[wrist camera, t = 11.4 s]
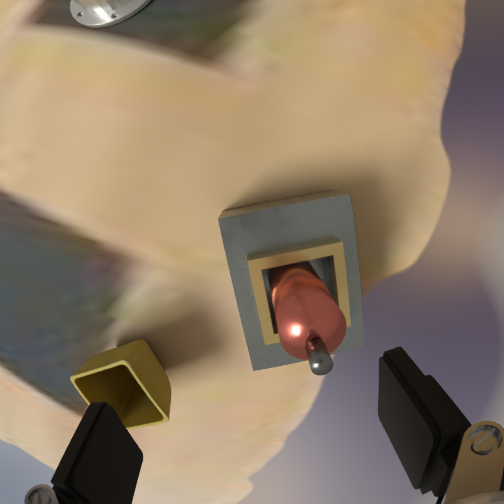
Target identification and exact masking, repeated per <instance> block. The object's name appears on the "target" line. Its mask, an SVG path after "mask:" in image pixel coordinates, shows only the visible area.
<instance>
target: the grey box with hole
mask: <svg viewBox="0 0 504 504" xmlns="http://www.w3.org/2000/svg"><path fill="white" fill-rule="evenodd" d="M218 221H219V226H220V230H221V235H222V239H223V244H224V248H225V253H226V257H227V262H228V266H229V270H230V275H231V279H232V283H233V288H234V292H235V296H236V301H237V305H238V309H239V313H240V317H241V322H242V326H243V330H244V334H245V338H246V342H247V346H248V351H249V355H250V359H251V363H252V367H253V371H256V370H261V369H267V368H272V367H277V366H282V365H287V364H292V363H297V362H302V361H306V360H302V359H298V358H295V357H293V356H291V355H290V354H288V353H287V352H286V351H285V350H284V348H283V347H282V345H281V342H280V339H279V333H278V328H277V323H276V317H275V312H274V307H273V302H272V296H271V291H270V286H269V281H268V275H267V268H272V267H277V266H282V265H287V264H292V263H297V262H302V261H307V260H308V261H309V262H310V264H311V265H312V267H313V268H314V270H315V271H316V273H317V274H318V276H319V277H320V279H321V280H322V282H323V283H324V285H325V286H326V288H327V289H328V291H329V292H330V294H331V295H332V297H333V299H334V300H335V302H336V303H337V305H338V306H339V308H340V309H341V311H342V313H343V314H344V316H345V319H346V324H347V327H346V334H345V337H344V339H343V341H342V343H341V344H340V345H339V347H338V348H337V349H336V350H334V351H333V352H332V353H330V355H332V354H336V353H340V352H344V351H347V350H351V349H355V348H358V347H362V346H364V329H363V310H362V295H361V282H360V270H359V260H358V250H357V241H356V233H355V225H354V217H353V210H352V203H351V196H350V194H348V193H343V192H338V191H333V190H331V191H325V192H320V193H314V194H308V195H303V196H297V197H292V198H286V199H281V200H276V201H271V202H265V203H260V204H255V205H250V206H245V207H240V208H235V209H231V210H226V211H222V213H221V214H220V216H219V218H218Z"/></svg>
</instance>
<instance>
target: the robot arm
mask: <svg viewBox="0 0 504 504" xmlns="http://www.w3.org/2000/svg"><path fill="white" fill-rule="evenodd" d="M150 1H151V0H71V3H70V9H71V13H72V16H73V17H74V18H75V19H76V20H77V21H78V22H79V23H81V24H82V25H85V26H87V27H93V28H97V27H106V26H111V25H114V24H117V23H119V22H122V21H124V20H126V19H128V18H130V17H131V16H133V15H134V14H136V13H138V12H139V11H140V10H141V9H143V8H144V7H145V6H146V5H147V4H148V3H149V2H150ZM378 415H379V419H380V421H381V423H382V425H383V427H384V429H385V431H386V433H387V435H388V436H389V439H390V441H391V443H392V445H393V447H394V449H395V451H396V453H397V455H398V457H399V459H400V461H401V463H402V465H403V467H404V469H405V471H406V473H407V475H408V477H409V479H410V481H411V483H412V485H413V487H414V488H415V489H419V488H420V490H421V492H422V494H425V493H427V492H429V491H431V490H432V492H433V494H434V496H436V497H437V499H436V501H435V504H504V428H503V427H502V426H501V425H500V424H498V423H496V422H492V421H481V422H478V423H475V424H473V425H471V424H470V422H469V421H468V420H467V418H466V417H465V416H464V415H463V413H462V412H461V411H460V410H459V408H458V407H457V406H456V404H455V403H454V402H453V401H452V399H451V398H450V397H449V396H448V394H446V392H445V391H444V390H443V389H442V387H441V386H440V385H439V384H438V382H437V381H436V380H435V379H434V378H433V377H432V376H431V375H426V376H425V375H424V374H423V373H422V372H421V371H420V369H419V368H418V367H417V365H416V364H415V363H414V362H413V360H412V359H411V358H410V357H409V356H408V355H407V353H406V352H405V351H404V350H403V348H402V347H396V348H394V349H391V350H388V351H385V352H384V354H383V357H380V359H379V397H378ZM142 462H143V453H142V451H141V449H140V448H139V447H138V445H137V444H136V442H135V441H134V439H133V438H132V436H131V435H130V433H129V432H128V430H127V429H126V427H125V426H124V424H123V423H122V421H121V419H120V418H119V416H118V415H117V413H116V411H115V410H114V408H113V407H112V406H110V405H109V404H108V403H107V402H92V403H91V404H90V405H89V407H88V409H87V410H86V412H85V414H84V416H83V418H82V420H81V422H80V424H79V426H78V427H77V429H76V431H75V433H74V435H73V437H72V439H71V441H70V443H69V445H68V447H67V449H66V451H65V453H64V455H63V457H62V459H61V461H60V463H59V465H58V467H57V469H56V471H55V473H54V476H53V478H52V480H51V483H52V484H53V485H54V486H53V488H51V487H50V486H48V485H45V484H40V485H36V486H34V487H32V488H31V489H30V490H29V491H28V492H27V494H26V496H25V500H24V502H25V504H132V500H133V496H134V492H135V488H136V484H137V480H138V477H139V473H140V469H141V465H142Z"/></svg>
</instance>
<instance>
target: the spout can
mask: <svg viewBox="0 0 504 504" xmlns="http://www.w3.org/2000/svg"><path fill="white" fill-rule="evenodd" d="M267 275H268V281H269V286H270V291H271V296H272V302H273V307H274V312H275V317H276V323H277V328H278V333H279V339H280V342H281V345H282V347H283V348H284V350H285V351H286V352H287V353H288V354H290V355H291V356H293V357H295V358H298V359H302V360H309V364H310V367H311V370H312V372H313V373H314V374H316V375H325V374H327V373H329V372H330V371H331V370H332V368H333V361H332V359H331V357H330V353H332V352H333V351H334V350H336V349H337V348H338V347H339V345H340V344H341V343H342V341H343V339H344V337H345V334H346V327H347V324H346V319H345V316H344V314H343V313H342V311H341V309H340V308H339V306H338V305H337V303H336V302H335V300H334V299H333V297H332V295H331V294H330V292H329V291H328V289H327V288H326V286H325V285H324V283H323V282H322V280H321V279H320V277H319V276H318V274H317V273H316V271H315V270H314V268H313V267H312V265H311V264H310V262H309V261H308V260H307V261H302V262H297V263H292V264H287V265H282V266H277V267H272V268H267Z"/></svg>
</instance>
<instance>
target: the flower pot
mask: <svg viewBox="0 0 504 504" xmlns="http://www.w3.org/2000/svg"><path fill="white" fill-rule="evenodd" d="M70 379H71V381H72V383H73V384H74V386H75V387H76V389H77V390H78V392H79V393H80V394H81V395H82V397H83V398H84V399H85V401H86V402H87V403H88V405H90V404H91V403H92V402H107V403H108V404H109V405H110V406H112V407H113V408H114V410H115V411H116V413H117V415H118V416H119V418H120V419H121V421H122V423H123V424H124V426H125V427H126V429H127V430H130V429H135V428H140V427H145V426H151V425H156V424H160V423H164V422H167V421H168V420H169V413H170V403H171V386H170V382H169V379H168V377H167V375H166V373H165V371H164V369H163V367H162V366H161V364H160V363H159V361H158V359H157V358H156V356H155V355H154V353H153V352H152V350H151V348H150V347H149V345H148V343H147V342H146V341H145V340H144V339H138V340H136V341H133V342H130V343H128V344H125V345H122V346H119V347H117V348H114V349H111V350H108V351H105V352H102V353H100V354H98V355H96V356H94V357H93V358H91V359H90V360H89V361H88V362H87V363H85V364H84V365H83V366H82V367H81V368H80V369H79V370H78V371H77V372H76V373H74V374H73V375H72V376H71V377H70Z"/></svg>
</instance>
